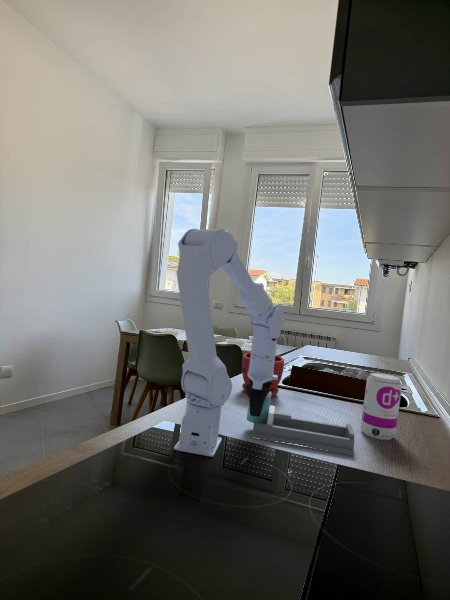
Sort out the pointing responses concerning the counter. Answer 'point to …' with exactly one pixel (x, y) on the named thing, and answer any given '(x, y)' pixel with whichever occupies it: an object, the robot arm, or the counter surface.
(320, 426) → the lane
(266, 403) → the jar
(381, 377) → the supplement can
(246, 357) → the plant pot
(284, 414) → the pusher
